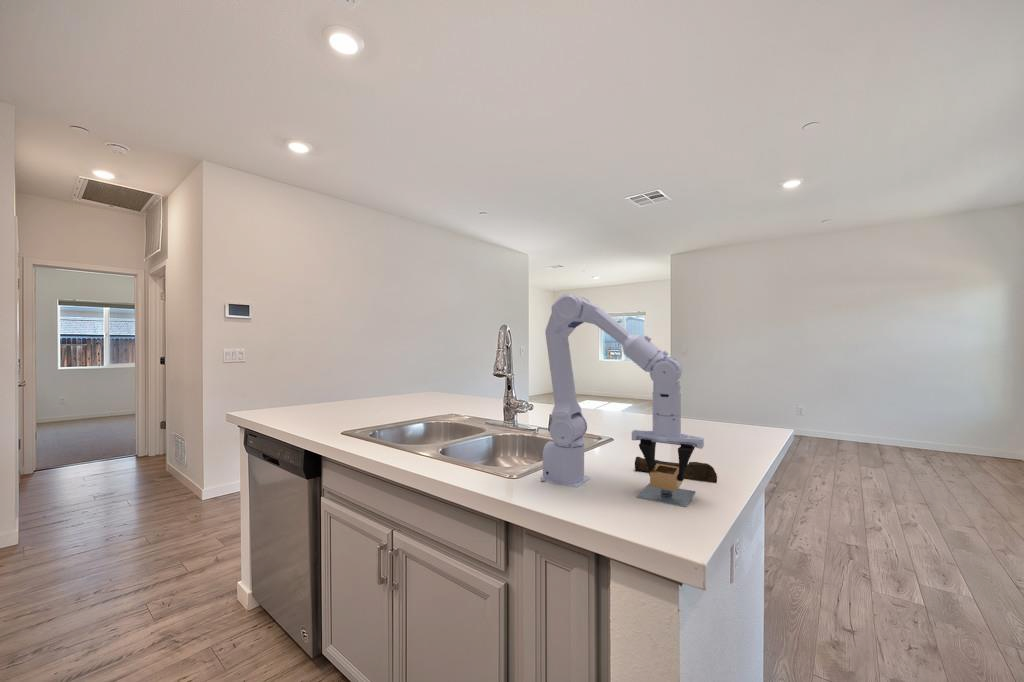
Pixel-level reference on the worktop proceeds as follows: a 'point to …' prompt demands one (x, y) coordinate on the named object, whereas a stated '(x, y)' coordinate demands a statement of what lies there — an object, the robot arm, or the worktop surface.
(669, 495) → the piston plate
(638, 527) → the worktop surface
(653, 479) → the square wooden frame
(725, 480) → the worktop surface
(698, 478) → the dark brown long piece
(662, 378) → the robot arm
